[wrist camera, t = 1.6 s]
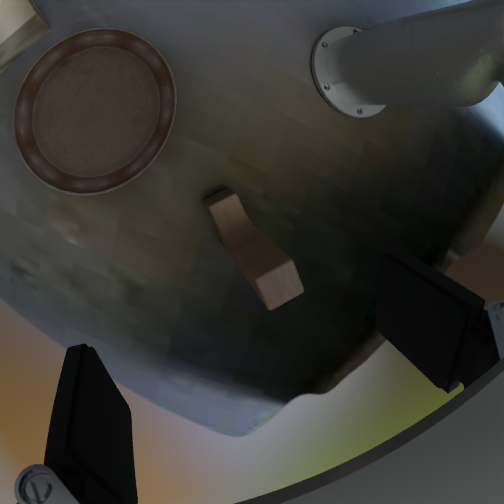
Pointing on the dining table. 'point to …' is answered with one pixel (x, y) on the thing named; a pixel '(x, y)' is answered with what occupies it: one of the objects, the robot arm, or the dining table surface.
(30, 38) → the birch plinth block
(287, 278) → the wooden block
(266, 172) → the dining table surface
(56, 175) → the plant saucer
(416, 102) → the robot arm
